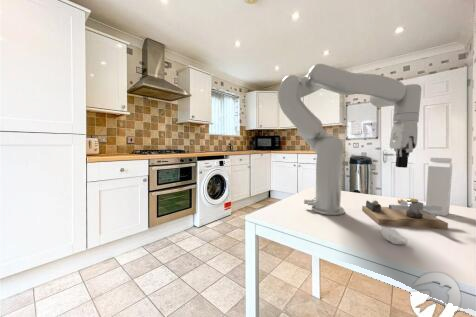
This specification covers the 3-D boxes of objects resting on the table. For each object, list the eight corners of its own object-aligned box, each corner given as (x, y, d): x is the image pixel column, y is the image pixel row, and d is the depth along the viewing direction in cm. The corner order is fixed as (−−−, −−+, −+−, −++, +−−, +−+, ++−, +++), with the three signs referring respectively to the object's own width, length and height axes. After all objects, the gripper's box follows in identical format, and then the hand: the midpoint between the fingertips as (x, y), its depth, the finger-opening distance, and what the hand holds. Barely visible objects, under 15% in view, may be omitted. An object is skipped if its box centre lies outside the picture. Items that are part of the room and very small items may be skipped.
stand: (378, 224, 71) (379, 207, 70) (362, 210, 85) (362, 196, 85) (447, 229, 67) (448, 211, 66) (417, 213, 81) (418, 198, 81)
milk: (446, 216, 78) (450, 158, 76) (425, 212, 83) (428, 157, 81) (449, 213, 81) (453, 157, 80) (428, 209, 86) (432, 157, 84)
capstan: (461, 226, 63) (462, 208, 63) (405, 224, 65) (406, 206, 65) (421, 209, 79) (422, 195, 79) (377, 208, 81) (377, 194, 81)
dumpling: (374, 238, 61) (375, 225, 61) (387, 235, 63) (388, 223, 62) (399, 250, 54) (400, 235, 54) (413, 246, 56) (413, 232, 56)
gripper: (385, 121, 86) (381, 164, 87) (404, 116, 71) (400, 169, 73) (406, 121, 84) (402, 165, 85) (430, 116, 69) (425, 170, 71)
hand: (401, 167), depth 79 cm, fingers closed
